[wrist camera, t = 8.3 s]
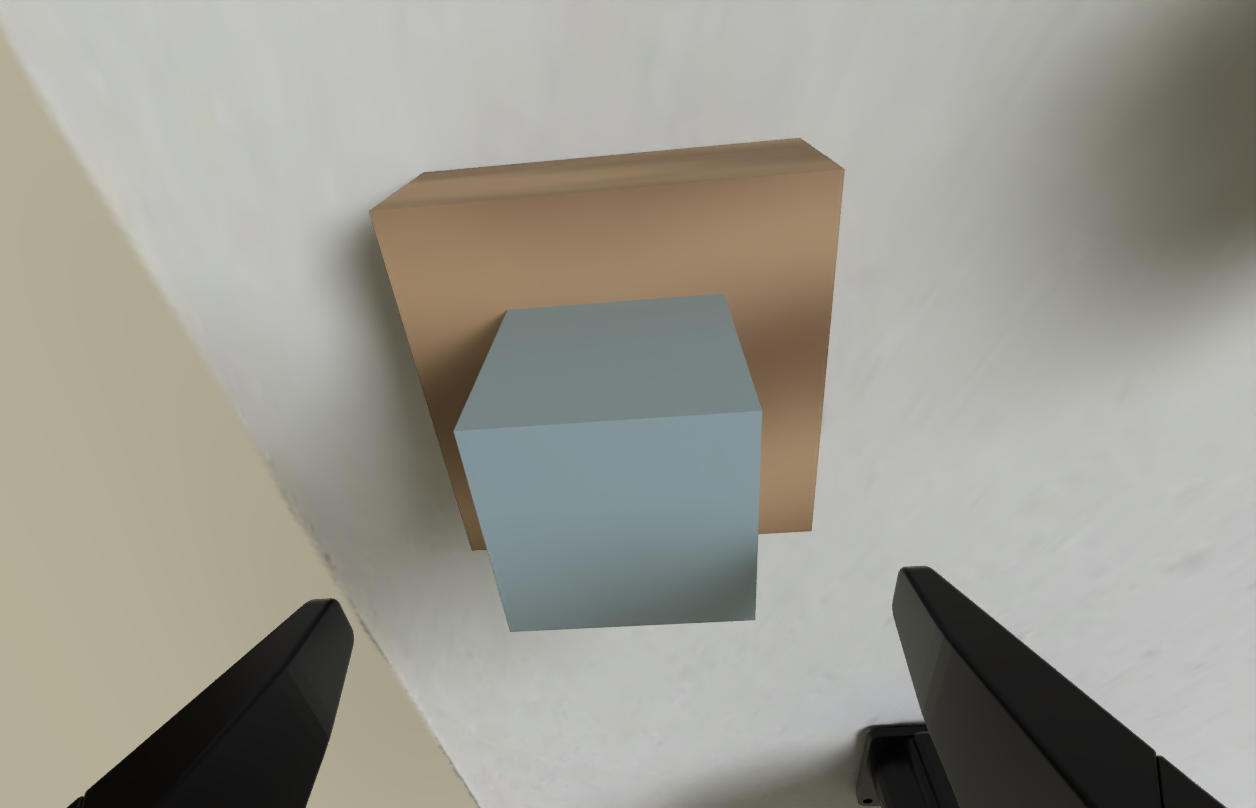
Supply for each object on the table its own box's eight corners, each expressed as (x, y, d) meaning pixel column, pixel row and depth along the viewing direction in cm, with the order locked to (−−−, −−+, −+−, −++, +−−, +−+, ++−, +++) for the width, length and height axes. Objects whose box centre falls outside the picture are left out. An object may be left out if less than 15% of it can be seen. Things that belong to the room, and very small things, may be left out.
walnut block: (783, 449, 21) (811, 530, 18) (497, 468, 22) (471, 550, 18) (800, 137, 16) (844, 168, 13) (423, 172, 17) (368, 211, 13)
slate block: (724, 467, 17) (755, 619, 12) (541, 478, 17) (510, 631, 13) (723, 293, 14) (762, 410, 10) (507, 309, 14) (453, 430, 10)
